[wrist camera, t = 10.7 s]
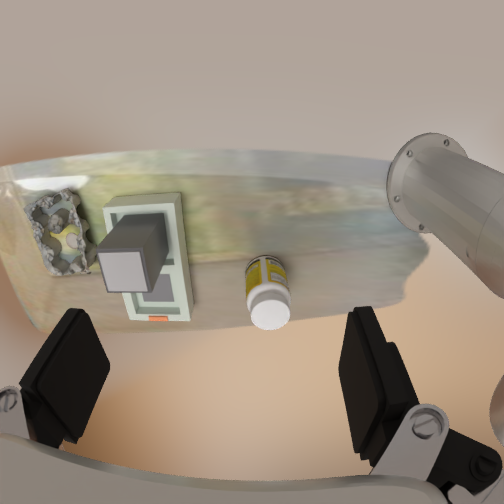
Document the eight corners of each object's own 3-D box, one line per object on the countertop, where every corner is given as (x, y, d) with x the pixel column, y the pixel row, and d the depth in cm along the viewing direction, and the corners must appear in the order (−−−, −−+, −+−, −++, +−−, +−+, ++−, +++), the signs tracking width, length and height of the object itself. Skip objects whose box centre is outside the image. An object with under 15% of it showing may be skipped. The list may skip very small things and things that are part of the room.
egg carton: (104, 261, 38) (93, 278, 34) (61, 266, 38) (47, 282, 34) (80, 183, 33) (64, 194, 29) (35, 195, 33) (18, 206, 29)
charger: (124, 215, 32) (94, 250, 25) (163, 212, 33) (142, 248, 25) (131, 252, 35) (106, 293, 27) (169, 251, 35) (151, 294, 27)
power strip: (114, 197, 34) (101, 208, 30) (180, 192, 34) (173, 203, 30) (136, 303, 41) (129, 321, 37) (194, 303, 41) (190, 322, 37)
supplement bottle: (248, 290, 40) (249, 335, 32) (242, 257, 38) (242, 300, 30) (286, 285, 40) (295, 329, 32) (283, 252, 38) (292, 293, 30)
